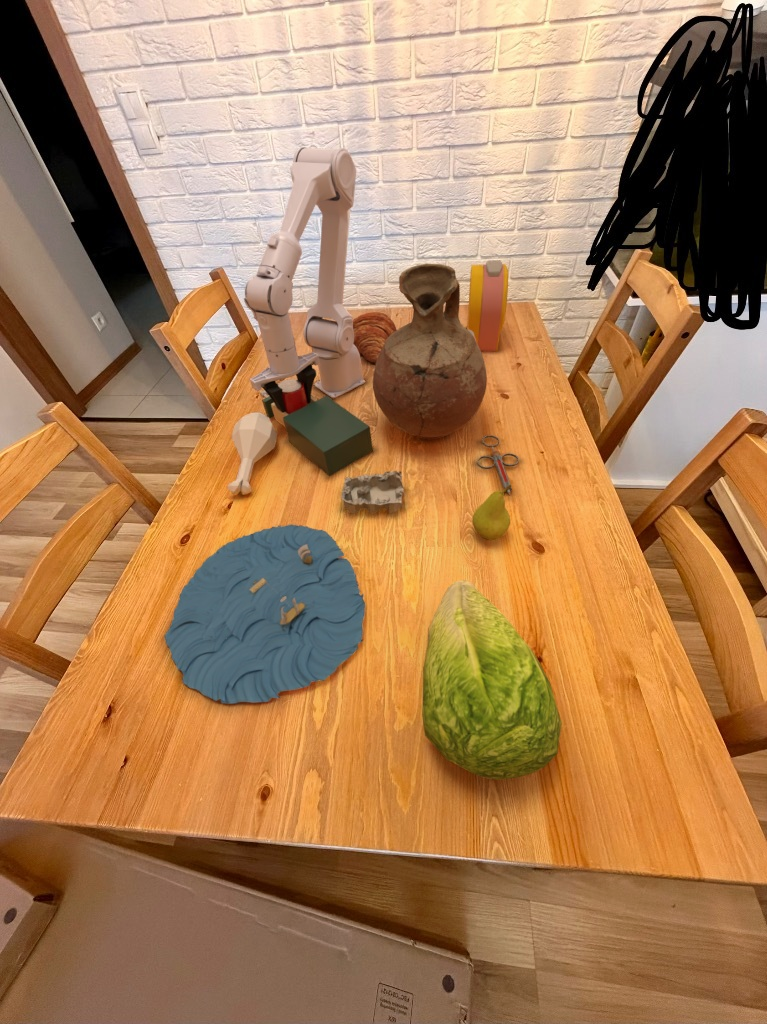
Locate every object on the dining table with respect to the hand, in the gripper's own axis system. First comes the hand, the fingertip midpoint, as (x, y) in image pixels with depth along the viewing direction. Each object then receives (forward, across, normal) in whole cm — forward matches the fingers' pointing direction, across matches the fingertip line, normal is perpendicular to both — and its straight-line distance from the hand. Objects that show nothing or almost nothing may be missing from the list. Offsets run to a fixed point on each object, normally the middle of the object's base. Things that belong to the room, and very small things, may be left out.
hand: (294, 406), depth 96 cm
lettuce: (+5, +13, +64) cm, 65 cm away
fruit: (+5, -6, +48) cm, 49 cm away
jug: (+4, -20, +20) cm, 28 cm away
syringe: (+4, -19, +39) cm, 44 cm away
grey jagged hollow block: (+5, +2, +29) cm, 30 cm away
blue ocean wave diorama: (+5, +28, +36) cm, 46 cm away
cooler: (+4, 0, +11) cm, 12 cm away
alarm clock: (+3, -54, +4) cm, 54 cm away
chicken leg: (+5, +14, +6) cm, 16 cm away
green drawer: (+3, 0, -2) cm, 4 cm away
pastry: (+3, -32, -15) cm, 36 cm away
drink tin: (+2, 0, 0) cm, 2 cm away
